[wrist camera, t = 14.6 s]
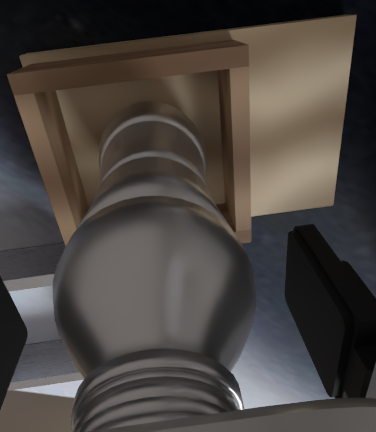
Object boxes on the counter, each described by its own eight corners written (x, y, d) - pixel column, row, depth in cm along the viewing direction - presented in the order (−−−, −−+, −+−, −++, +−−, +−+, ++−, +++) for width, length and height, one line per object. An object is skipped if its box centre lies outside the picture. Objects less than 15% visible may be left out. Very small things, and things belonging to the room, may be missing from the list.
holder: (-65, 260, 28) (-94, 294, 25) (84, 239, 29) (75, 271, 25) (-8, 357, 35) (-25, 395, 31) (114, 339, 35) (110, 375, 31)
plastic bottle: (183, 78, 22) (308, 330, 5) (211, 174, 25) (344, 522, 8) (86, 111, 22) (-130, 453, 5) (127, 201, 26) (80, 586, 8)
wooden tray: (26, 53, 22) (-8, 64, 17) (344, 14, 22) (397, 15, 17) (81, 229, 28) (67, 273, 24) (325, 196, 29) (359, 232, 24)
